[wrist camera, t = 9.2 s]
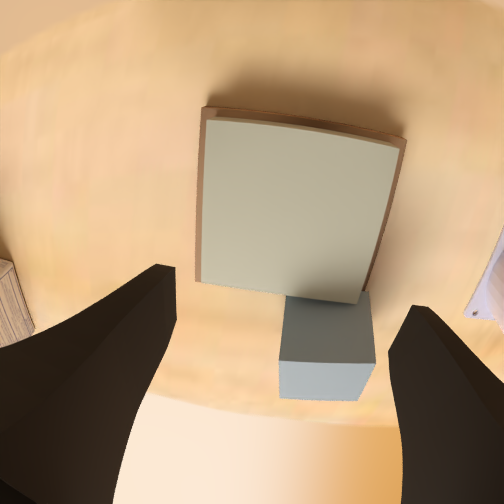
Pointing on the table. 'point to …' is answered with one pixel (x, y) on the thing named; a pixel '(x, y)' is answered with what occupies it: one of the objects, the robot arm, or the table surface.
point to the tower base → (296, 120)
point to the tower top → (292, 207)
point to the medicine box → (12, 308)
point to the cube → (326, 349)
